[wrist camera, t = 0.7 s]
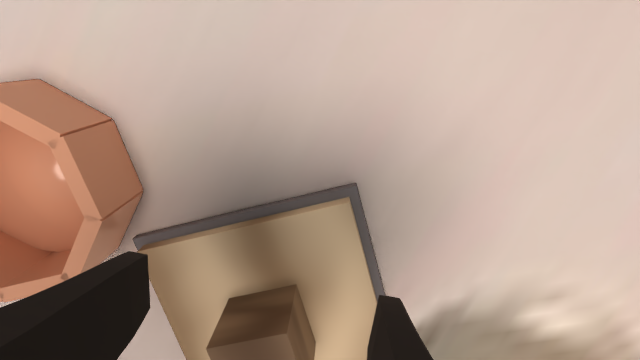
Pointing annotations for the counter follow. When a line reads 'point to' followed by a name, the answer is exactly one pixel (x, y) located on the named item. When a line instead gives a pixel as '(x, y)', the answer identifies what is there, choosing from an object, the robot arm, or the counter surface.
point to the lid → (269, 287)
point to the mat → (277, 208)
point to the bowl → (58, 188)
